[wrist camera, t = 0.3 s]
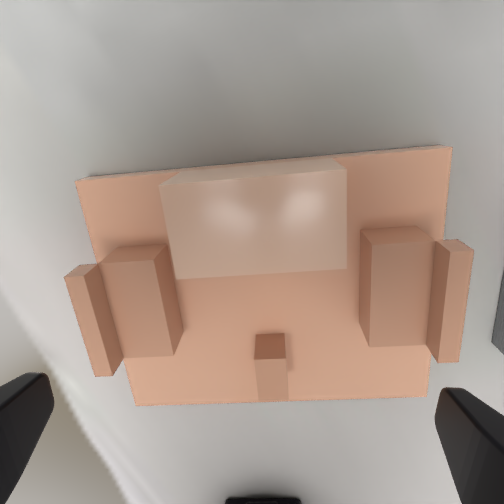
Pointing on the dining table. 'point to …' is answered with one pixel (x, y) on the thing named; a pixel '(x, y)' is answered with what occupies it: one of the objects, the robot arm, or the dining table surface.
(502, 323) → the glasses frame
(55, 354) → the dining table surface
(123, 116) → the dining table surface
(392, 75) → the dining table surface
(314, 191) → the display stand
